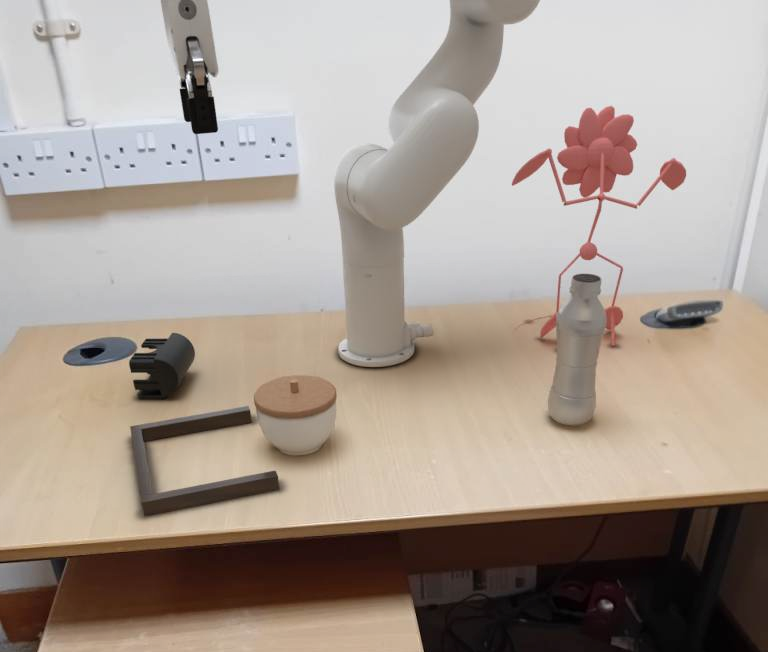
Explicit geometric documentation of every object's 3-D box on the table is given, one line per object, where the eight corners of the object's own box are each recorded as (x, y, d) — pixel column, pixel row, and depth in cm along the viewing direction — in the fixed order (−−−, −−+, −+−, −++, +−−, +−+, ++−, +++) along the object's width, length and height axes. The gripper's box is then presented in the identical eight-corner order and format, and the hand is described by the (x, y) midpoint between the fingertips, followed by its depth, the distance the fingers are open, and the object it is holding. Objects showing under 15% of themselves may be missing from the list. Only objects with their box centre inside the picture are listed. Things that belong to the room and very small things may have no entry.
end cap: (182, 400, 118) (174, 358, 114) (136, 400, 119) (126, 358, 115) (199, 372, 126) (191, 331, 122) (155, 372, 127) (147, 332, 123)
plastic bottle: (566, 435, 107) (583, 291, 95) (536, 415, 112) (549, 275, 100) (603, 424, 109) (625, 281, 97) (572, 404, 114) (589, 266, 102)
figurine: (664, 344, 130) (709, 109, 110) (513, 357, 128) (530, 119, 107) (627, 310, 143) (662, 93, 123) (489, 322, 140) (500, 102, 120)
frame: (250, 418, 113) (248, 405, 112) (279, 489, 98) (277, 475, 97) (133, 438, 109) (129, 426, 108) (144, 516, 94) (140, 502, 93)
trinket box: (262, 427, 111) (254, 365, 105) (338, 422, 111) (334, 361, 106) (258, 467, 102) (249, 402, 97) (341, 462, 103) (336, 397, 97)
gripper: (219, -33, 88) (239, 135, 98) (200, -33, 101) (220, 114, 111) (150, -30, 86) (178, 140, 96) (141, -31, 100) (166, 119, 110)
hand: (200, 126), depth 104 cm, fingers open, 9 cm apart
